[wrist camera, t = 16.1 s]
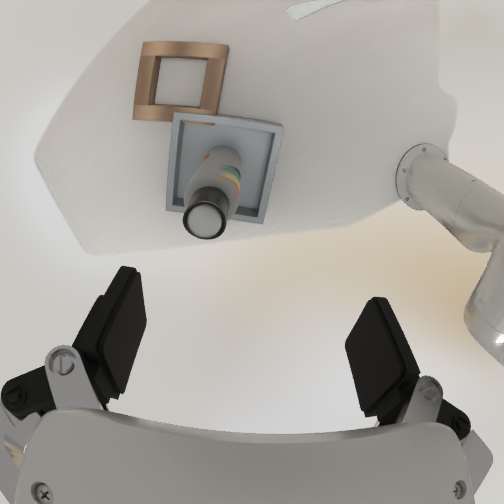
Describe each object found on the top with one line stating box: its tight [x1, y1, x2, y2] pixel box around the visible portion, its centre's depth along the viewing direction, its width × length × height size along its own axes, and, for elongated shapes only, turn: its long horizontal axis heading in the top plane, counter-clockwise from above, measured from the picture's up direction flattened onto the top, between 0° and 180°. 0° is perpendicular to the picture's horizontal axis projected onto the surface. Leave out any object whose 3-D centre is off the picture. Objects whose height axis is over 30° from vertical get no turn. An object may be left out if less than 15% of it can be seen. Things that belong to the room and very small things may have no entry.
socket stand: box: [132, 41, 229, 126], centre depth 32 cm, size 12×12×3 cm
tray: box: [166, 112, 284, 224], centre depth 39 cm, size 15×15×4 cm
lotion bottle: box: [183, 146, 241, 239], centre depth 32 cm, size 6×6×20 cm
